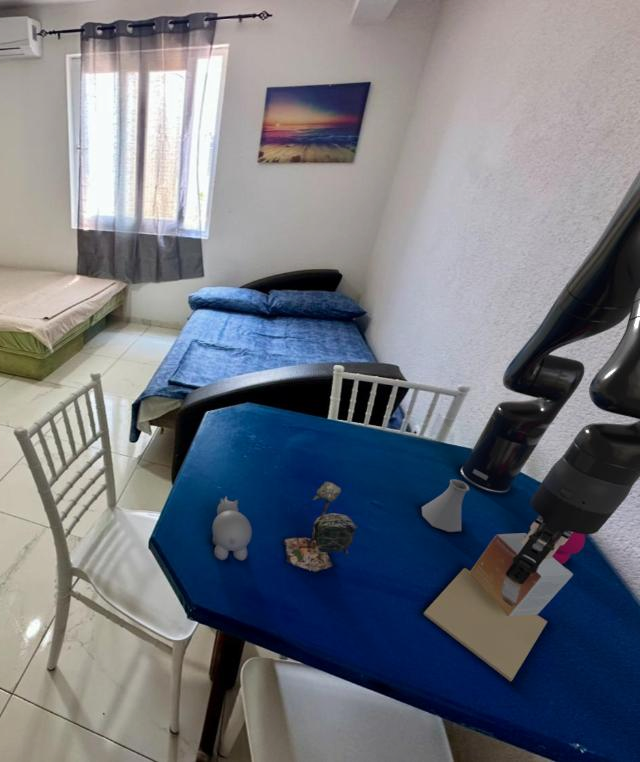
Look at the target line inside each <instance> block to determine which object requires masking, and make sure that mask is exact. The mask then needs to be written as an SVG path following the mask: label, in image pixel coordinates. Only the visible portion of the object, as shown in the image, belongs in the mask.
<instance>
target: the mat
mask: <svg viewBox="0 0 640 762" xmlns="http://www.w3.org/2000/svg"><path fill="white" fill-rule="evenodd" d="M470 571H471V570H469V569H467V568H466V567H464V568H463V569H462V570H461V571H460V572H459V573H458V574H457V575H456V576H455V577H454V579H453V580H452V581H451V582H450V583H449V584H448V585H447V586H446V588H445V589H444V590H443V591H442V592H441V593H440V594H439V595H438V596H437V597H436V599H434V600H433V602H432V603H431V604H430V605H429V606H428V607H427V608H426V610H425V611H423V616H424V617H426V618H427V619H429V620H430V621H431V622H433V623H434V624H435V625H437V627H439V628H440V629H441V630H443V631H444V632H445V633H447V634H448V635H450V636H451V637H452V638H453V639H454V640H456V641H457V642H458V643H460V644H461V645H462V646H464V647H465V648H466V649H467V650H469V651H470V652H471V653H473V654H474V655H475V656H477V657H478V658H479V659H481V661H483V662H484V663H486V664H487V665H488V666H489V667H491V668H492V669H494V670H495V671H496V672H497V673H499V674H500V675H501V676H502V677H504V678H505V679H506V680H508V681H509V682H512V681H513V680H514V679H515V677H516V675H517V673H518V671H519V670H520V669H521V667H522V665H523V664H524V662H525V660H526V658H527V656H528V655H529V653H530V652H531V650H532V648H533V647H534V645H535V643H536V642H537V640H538V638H539V637H540V635H541V633H542V632H543V630H544V628H545V627H546V625H547V624H548V621H547V620H546V619H544V618H543V617H541V616H540V615H539V614H535V615H522V616H507V615H506V614H505V613H504V612H503V611H502V609H501V608H500V607H499V606H498V605H497V604H496V603H495V602H494V600H493V599H492V598H491V597H490V596H489V595H488V594H487V593H486V591H485V590H484V589H483V588H482V587H481V586H480V585H479V584H478V583H477V582H476V581H475V579H474V578H473V577H472V576H471V575H470V574H469V572H470Z"/></svg>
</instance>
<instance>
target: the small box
mask: <svg viewBox="0 0 640 762" xmlns="http://www.w3.org/2000/svg"><path fill="white" fill-rule="evenodd" d="M527 534H528V533H526V532H522V533H521V532H519V533H518V532H517V533H501V534H500V533H499V534H496V535H495V536H494V537H493V539H492V540H491V541H490V543H489V544H488V546H486V549H485V550H484V551H483V553H482V554H481V556H480V557H479V558H478V560H476V562H475V564H474V565H473V567H472V568H471V569H470V570H469V571H470V572H469V574H470V575H471V576H472V577H473V578H474V579H475V581H476V582H477V583H478V584H479V585H480V586H481V587H482V588H483V589H484V590H485V591H486V593H487V594H488V595H489V596H490V597H491V598H492V599H493V600H494V602H495V603H496V604H497V605H498V606H499V607H500V608H501V609H502V611H503V612H504V613H505V614H506V615H507V616H522V615H535V614H537V615H539V614H540V613H541V612H542V610H544V608H545V607H546V606H547V605H548V604H549V603H550V602H551V600H552V599H554V597H556V595H557V594H558V593H559V591H561V590H562V588H563V587H564V586H565V585H566V584H567V583H568V581H569V580H570V579H571V578H572V577H573V576H574V573H573V572H572V571H570V570H569V569H568V568H567V567H566V566H564V565H563V564H560V563H559V562H558V561H557V560H555V559H554V558H553V557H551V558H550V559H544V560H543V561H542V562H541V564H540V565H539V566H538V567H539V568H538V569H537V571H536V572H534V573H533V574H532V573H531V574H530V576H529V577H528V578H527V579H526V581H525V582H524V583H523V584H519V583H517V582H515V581H514V580H512V579H511V578H509V577H507V575H506V572H507V571H508V569H509V568H510V567H511V565H512V564H513V558H514V557H515V556H516V554H517V555H518V553H519V552H520V551H521V549H522V548H523V546H522V544H521V542H522V541H523V539H524V538H525V537H526V535H527ZM524 556H526V555H524ZM526 557H527V558H529V559H531V558H530V557H528V556H526ZM531 560H533V559H531ZM533 561H534V562H535V560H533Z"/></svg>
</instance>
